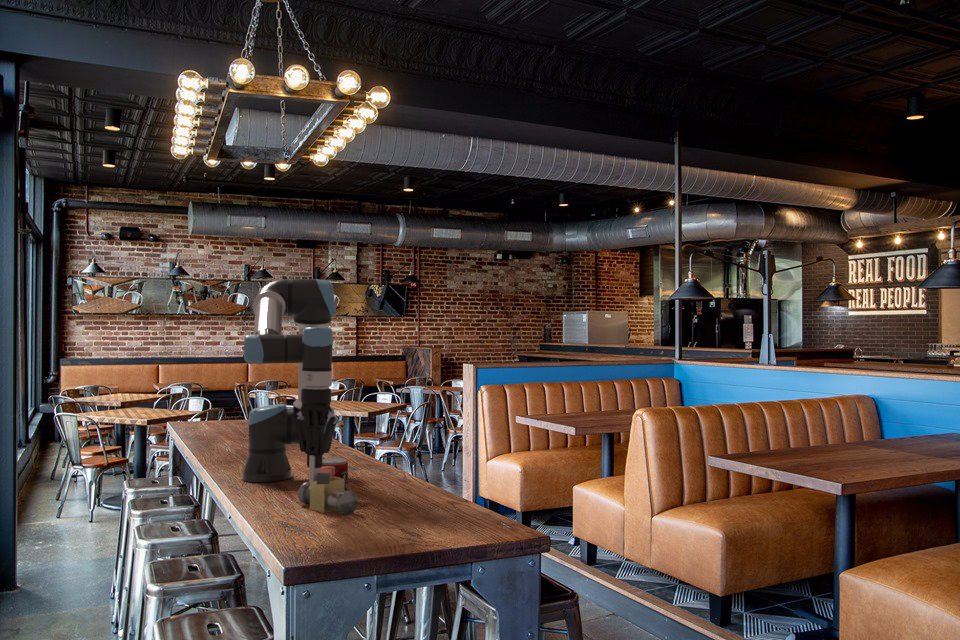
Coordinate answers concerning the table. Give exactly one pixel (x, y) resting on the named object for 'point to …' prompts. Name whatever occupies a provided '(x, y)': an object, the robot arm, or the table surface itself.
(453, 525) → the table surface
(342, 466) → the canned food
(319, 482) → the lever
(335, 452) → the table surface
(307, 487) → the valve pipe
